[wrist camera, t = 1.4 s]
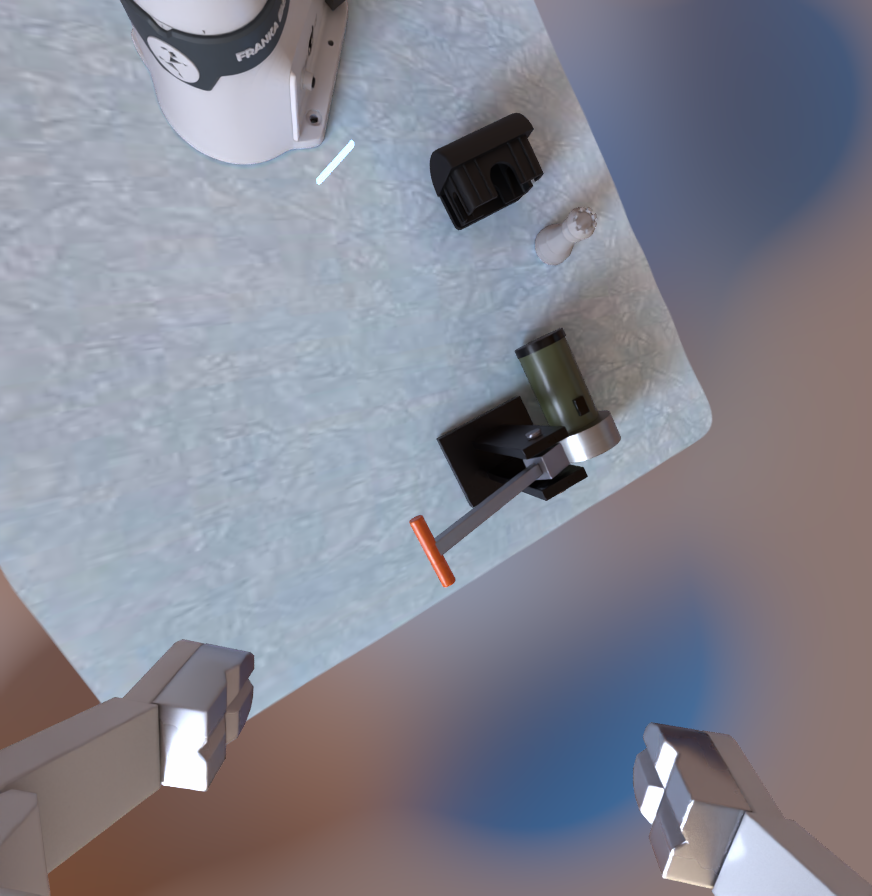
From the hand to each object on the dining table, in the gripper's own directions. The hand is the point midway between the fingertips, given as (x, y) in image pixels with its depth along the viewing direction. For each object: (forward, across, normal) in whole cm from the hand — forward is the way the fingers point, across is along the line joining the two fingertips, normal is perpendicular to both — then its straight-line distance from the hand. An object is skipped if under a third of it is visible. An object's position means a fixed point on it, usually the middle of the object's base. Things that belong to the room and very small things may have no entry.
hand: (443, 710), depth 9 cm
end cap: (+51, +3, -23) cm, 56 cm away
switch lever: (+29, -3, +6) cm, 30 cm away
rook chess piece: (+52, -7, -18) cm, 56 cm away
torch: (+49, -10, -1) cm, 50 cm away
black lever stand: (+46, -4, +6) cm, 46 cm away
